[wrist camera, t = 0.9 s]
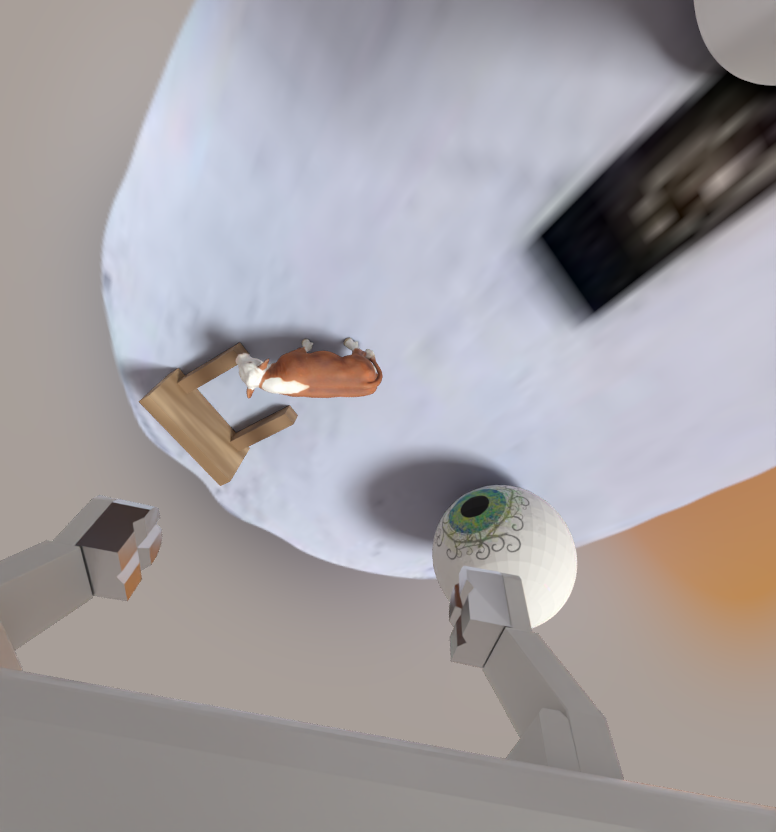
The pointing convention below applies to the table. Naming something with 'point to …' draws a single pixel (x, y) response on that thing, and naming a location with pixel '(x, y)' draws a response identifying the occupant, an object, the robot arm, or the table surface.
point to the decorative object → (508, 545)
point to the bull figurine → (313, 373)
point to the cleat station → (208, 418)
